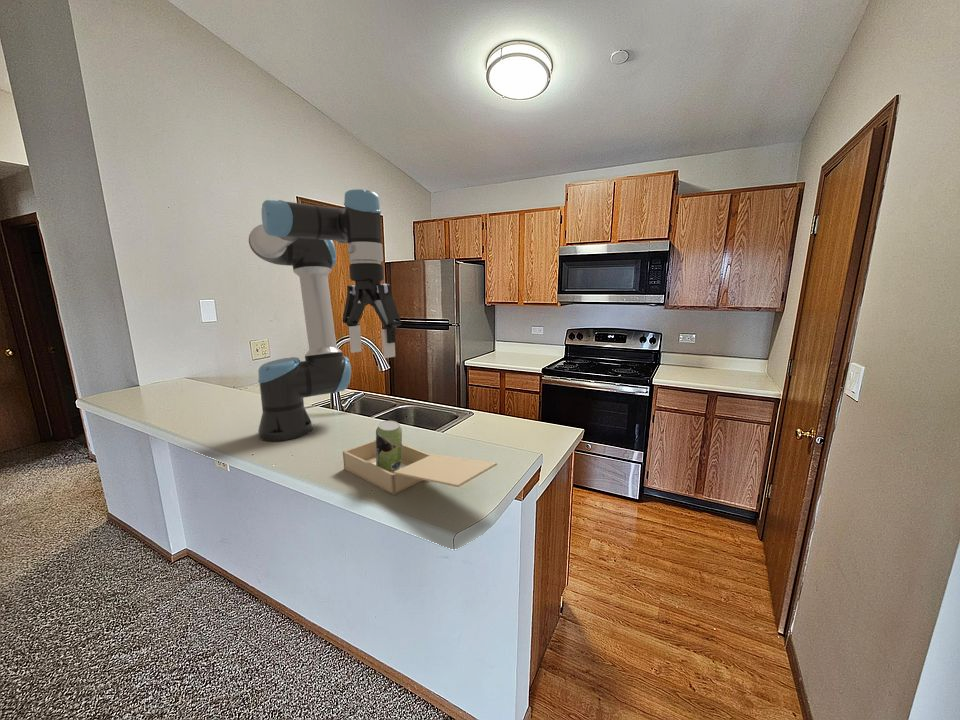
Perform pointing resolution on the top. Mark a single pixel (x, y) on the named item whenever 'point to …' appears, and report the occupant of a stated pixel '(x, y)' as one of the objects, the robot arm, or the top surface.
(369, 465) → the box
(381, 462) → the beverage can
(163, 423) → the top surface
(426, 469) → the lid
